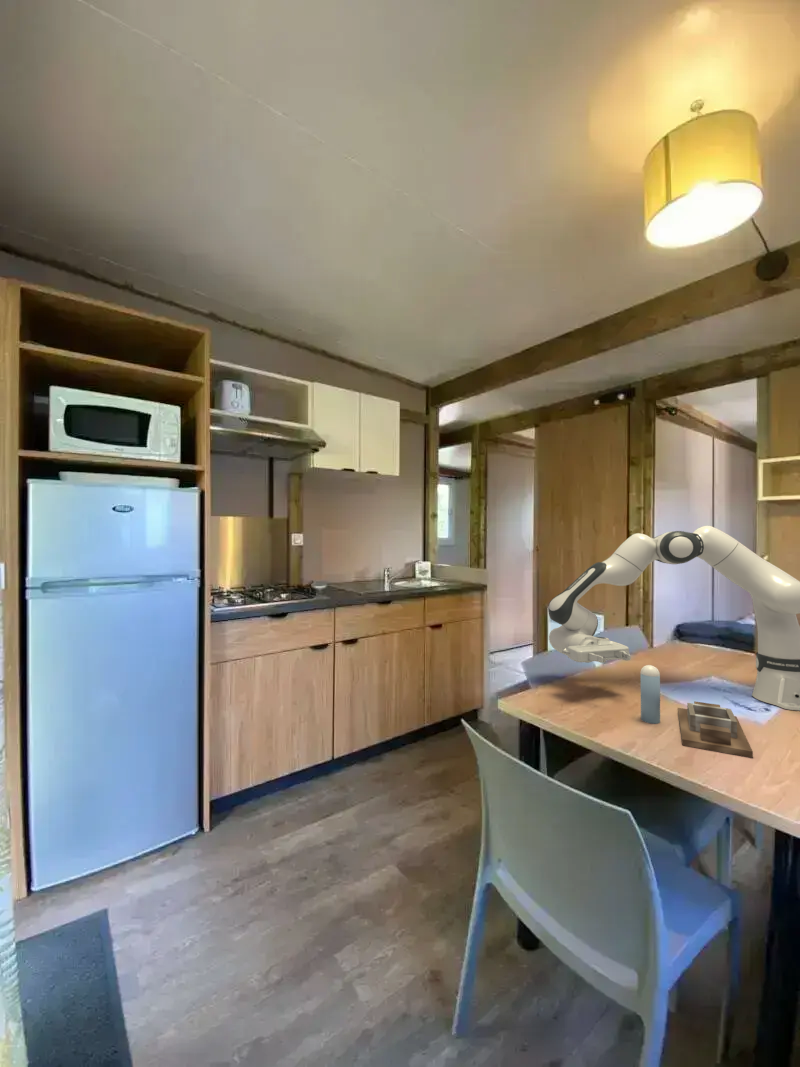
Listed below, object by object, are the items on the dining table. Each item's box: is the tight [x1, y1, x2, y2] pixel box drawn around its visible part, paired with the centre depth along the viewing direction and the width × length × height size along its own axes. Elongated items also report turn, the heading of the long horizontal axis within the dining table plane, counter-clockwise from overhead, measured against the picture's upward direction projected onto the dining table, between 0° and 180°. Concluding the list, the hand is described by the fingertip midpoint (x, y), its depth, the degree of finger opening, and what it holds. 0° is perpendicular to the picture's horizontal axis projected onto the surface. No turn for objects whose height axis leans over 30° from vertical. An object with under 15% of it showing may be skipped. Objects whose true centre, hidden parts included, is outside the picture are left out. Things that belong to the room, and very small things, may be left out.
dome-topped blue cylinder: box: [640, 664, 661, 725], centre depth 130 cm, size 5×5×15 cm
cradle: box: [677, 701, 754, 759], centre depth 121 cm, size 14×24×6 cm, turn 151°
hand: (616, 658), depth 142 cm, fingers open, 8 cm apart
